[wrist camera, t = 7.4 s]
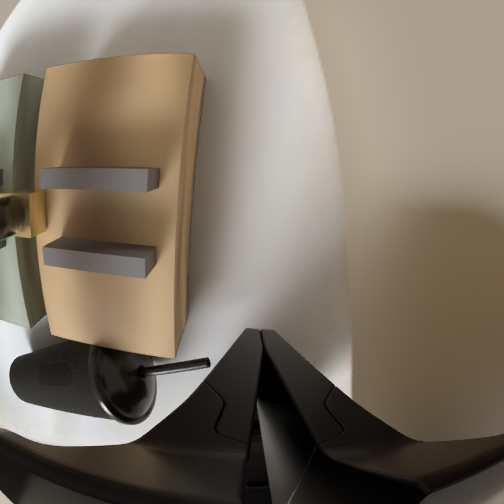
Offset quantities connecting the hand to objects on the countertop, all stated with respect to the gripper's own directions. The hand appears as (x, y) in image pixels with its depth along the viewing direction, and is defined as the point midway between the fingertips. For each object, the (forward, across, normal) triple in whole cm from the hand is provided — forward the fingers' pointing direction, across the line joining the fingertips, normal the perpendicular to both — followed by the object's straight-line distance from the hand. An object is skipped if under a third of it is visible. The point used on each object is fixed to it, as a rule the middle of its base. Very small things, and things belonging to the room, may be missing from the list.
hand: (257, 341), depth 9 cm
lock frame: (+12, +14, -2) cm, 18 cm away
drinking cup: (+10, +20, +15) cm, 27 cm away
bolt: (+7, +17, -2) cm, 18 cm away
